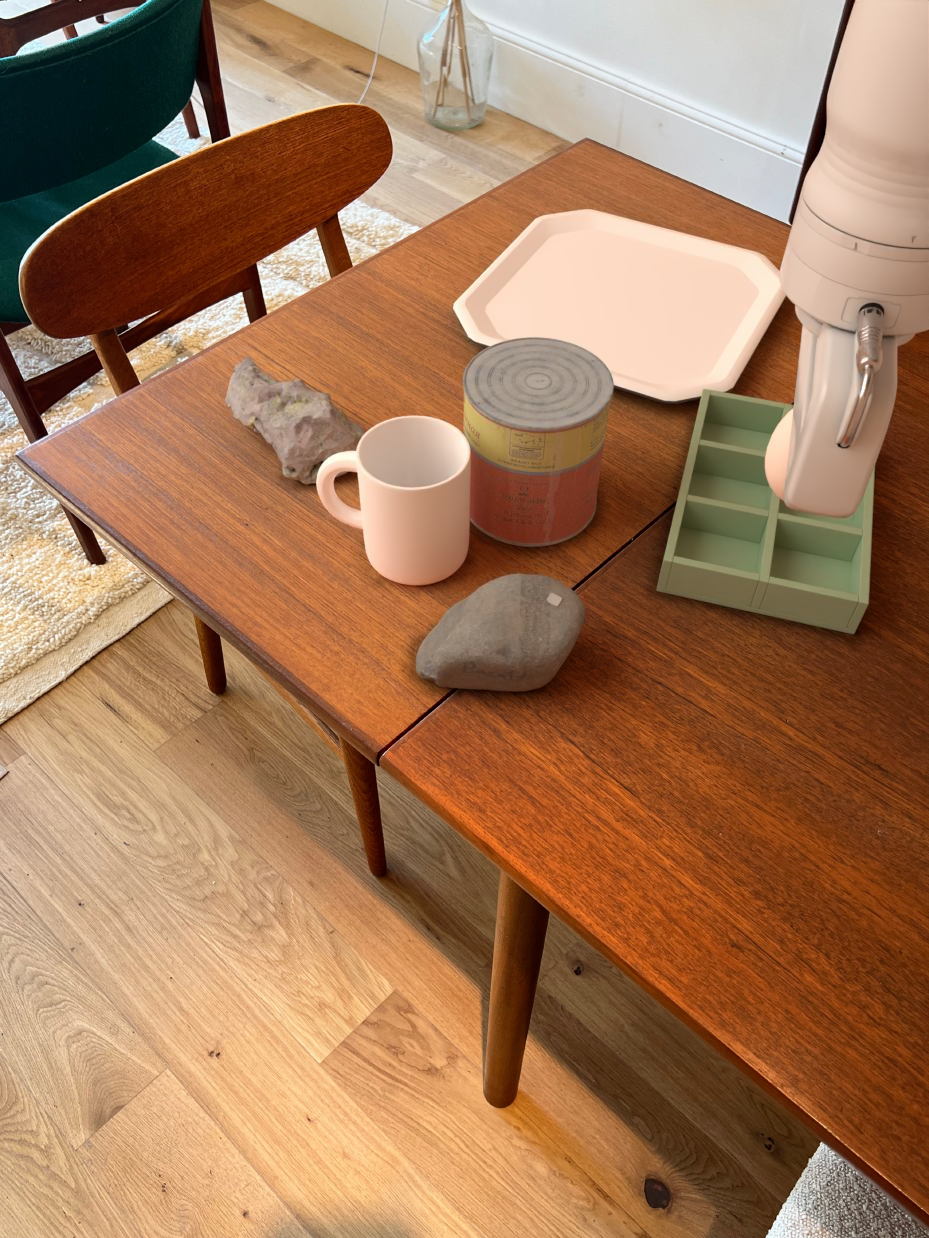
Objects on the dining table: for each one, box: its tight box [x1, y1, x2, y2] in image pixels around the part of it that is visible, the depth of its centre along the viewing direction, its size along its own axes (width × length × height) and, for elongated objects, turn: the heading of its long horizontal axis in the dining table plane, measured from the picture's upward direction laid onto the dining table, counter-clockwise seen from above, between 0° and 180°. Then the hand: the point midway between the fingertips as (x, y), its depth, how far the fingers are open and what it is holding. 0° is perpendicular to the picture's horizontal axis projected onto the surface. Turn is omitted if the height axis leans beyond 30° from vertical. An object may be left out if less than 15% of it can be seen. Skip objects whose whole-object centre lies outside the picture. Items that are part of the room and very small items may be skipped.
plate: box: [452, 208, 787, 405], centre depth 101 cm, size 29×29×2 cm
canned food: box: [462, 337, 615, 548], centre depth 79 cm, size 11×11×12 cm
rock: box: [224, 355, 367, 486], centre depth 85 cm, size 16×7×7 cm, turn 49°
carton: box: [655, 389, 876, 635], centre depth 81 cm, size 15×22×4 cm
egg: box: [765, 409, 793, 501], centre depth 59 cm, size 5×5×7 cm
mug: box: [315, 415, 471, 586], centre depth 76 cm, size 12×8×10 cm
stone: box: [415, 572, 586, 692], centre depth 70 cm, size 9×9×10 cm
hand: (802, 468), depth 61 cm, fingers closed on egg, 4 cm apart
